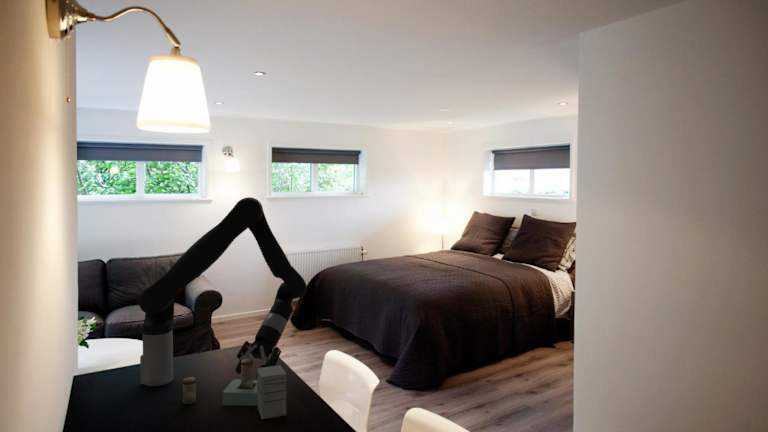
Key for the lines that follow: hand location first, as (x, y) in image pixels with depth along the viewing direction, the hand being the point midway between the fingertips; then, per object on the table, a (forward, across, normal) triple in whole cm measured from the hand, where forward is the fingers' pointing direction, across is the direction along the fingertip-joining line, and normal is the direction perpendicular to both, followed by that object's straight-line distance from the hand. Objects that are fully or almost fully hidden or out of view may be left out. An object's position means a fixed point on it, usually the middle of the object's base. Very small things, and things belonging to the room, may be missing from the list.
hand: (247, 375), depth 151 cm
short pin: (+12, -14, -2) cm, 19 cm away
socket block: (+5, 0, +5) cm, 7 cm away
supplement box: (+8, +13, +2) cm, 15 cm away
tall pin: (+5, 0, +5) cm, 7 cm away
